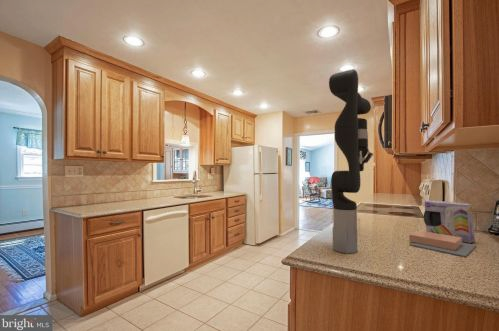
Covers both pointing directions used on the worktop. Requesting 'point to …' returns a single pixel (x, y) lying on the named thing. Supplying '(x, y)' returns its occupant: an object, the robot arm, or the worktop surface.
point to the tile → (436, 240)
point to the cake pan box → (450, 219)
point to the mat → (461, 251)
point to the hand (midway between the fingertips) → (360, 171)
